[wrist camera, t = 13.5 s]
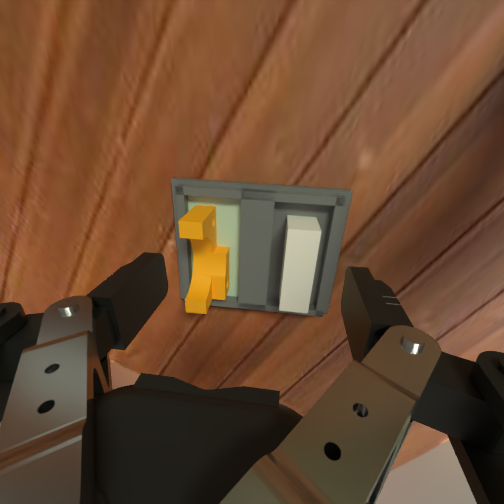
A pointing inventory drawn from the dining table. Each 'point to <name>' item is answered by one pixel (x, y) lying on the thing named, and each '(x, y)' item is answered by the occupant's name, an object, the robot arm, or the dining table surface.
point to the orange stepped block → (205, 259)
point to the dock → (269, 241)
